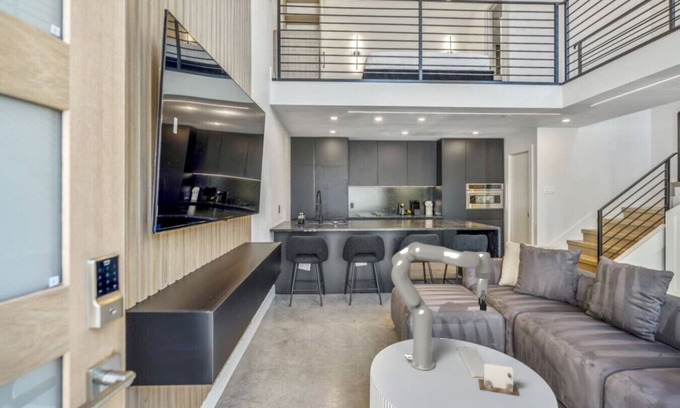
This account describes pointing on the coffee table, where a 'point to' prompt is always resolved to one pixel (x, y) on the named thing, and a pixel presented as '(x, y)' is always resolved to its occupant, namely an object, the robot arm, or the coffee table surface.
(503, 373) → the cabinet door
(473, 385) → the coffee table surface
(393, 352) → the coffee table surface
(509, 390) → the hinge mount
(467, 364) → the baseboard molding
